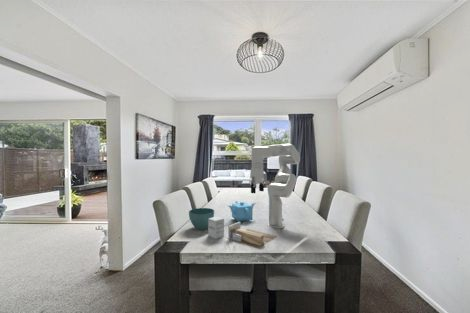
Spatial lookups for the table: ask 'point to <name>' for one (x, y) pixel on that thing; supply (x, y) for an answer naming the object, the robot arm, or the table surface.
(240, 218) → the teakettle
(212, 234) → the supplement box
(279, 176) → the robot arm
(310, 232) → the table surface
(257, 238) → the rail
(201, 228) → the teal bowl
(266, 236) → the board
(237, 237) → the bracket
